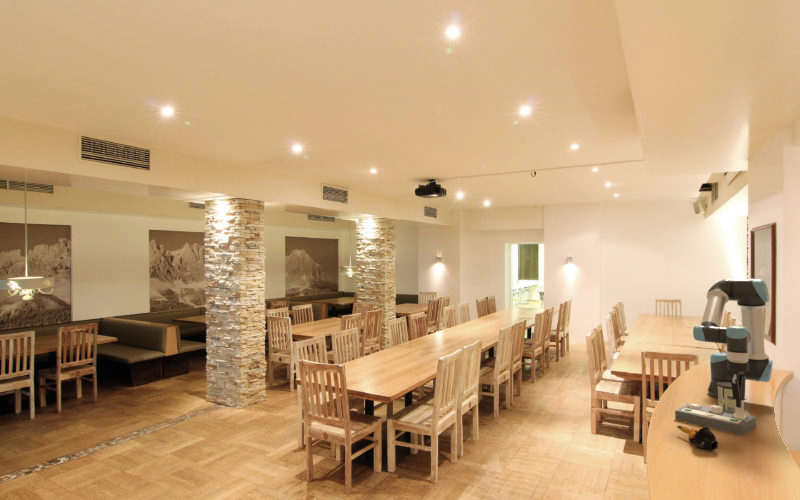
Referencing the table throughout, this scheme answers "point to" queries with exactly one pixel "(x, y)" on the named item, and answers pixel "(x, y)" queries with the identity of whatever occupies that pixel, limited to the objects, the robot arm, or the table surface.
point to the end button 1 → (694, 406)
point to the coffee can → (726, 396)
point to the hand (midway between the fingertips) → (739, 414)
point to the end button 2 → (740, 416)
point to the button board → (716, 419)
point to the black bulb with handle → (701, 437)
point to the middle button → (716, 409)
